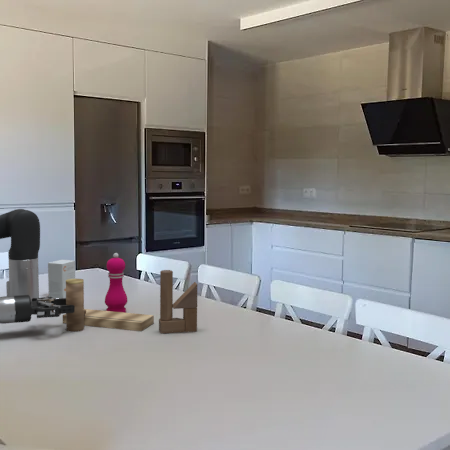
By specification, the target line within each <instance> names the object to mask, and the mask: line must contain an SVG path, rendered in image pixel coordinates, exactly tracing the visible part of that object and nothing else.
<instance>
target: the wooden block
mask: <svg viewBox="0 0 450 450" xmlns="http://www.w3.org/2000/svg"><path fill="white" fill-rule="evenodd" d="M159 275H160V276H159V277H160V280H159V281H160V284H159V285H160V287H159V290H160V291H159V293H160V296H159V297H160V299H159V303H160V305H159V308H160V310H159V313H160V314H159V315H160V316H159V319H158V331H159V333H160V334H175V333H176V334H177V333H193V332H194V333H195V332H198V283H197V282H196V281H194V282H193V283H191V285H190V286H189V287H188V288H187V289H186V290H185V291H184V292H183V293H182V294H181V295H180V296H179V297H178V298H177V299H176V300H175V302H174V301H173V297H174V296H173V294H174V293H173V290H174V289H173V288H174V287H173V286H174V284H173V283H174V279H173V278H174V272H173V270H171V269H162V270H161V271H160V274H159ZM176 309H177V310H178V309H182V312H183V313H182V318H181V317H180V318H179V317H173V313H174V312H173V310H176Z"/></svg>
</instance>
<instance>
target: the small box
mask: <svg viewBox="0 0 450 450" xmlns="http://www.w3.org/2000/svg"><path fill="white" fill-rule="evenodd" d="M47 278H48V279H47V280H48V283H47V284H48V285H47V286H48V297H52V298H59V299H60V298H66V280H68V279H76V260H72V259H57V260H55V261H54V260H53V261H50V262H47Z"/></svg>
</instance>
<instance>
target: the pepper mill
mask: <svg viewBox="0 0 450 450" xmlns="http://www.w3.org/2000/svg"><path fill="white" fill-rule="evenodd" d="M106 270H107V271H108V273H107V275H108V278H109V286H108V290H107V292H106V295H105V298H104V304H105V306H106V307H107V308H106V310H105V311H113V312H124V313H127V307H125V306H126V305H127V304H128V296H127V293H126V291H125V289H124V285H123V278H124V277H125V275H124V274H125V272H124V270H126V261H124V259H123V258H120V257H119V253H118V252H115V253H113V254H112V257H111V258H110V259H108V260H107V262H106Z"/></svg>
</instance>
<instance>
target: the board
mask: <svg viewBox="0 0 450 450" xmlns="http://www.w3.org/2000/svg"><path fill="white" fill-rule="evenodd" d="M84 310H86V314H85V316H84V327H85V326H89V327H94V328H95V327H98V328H108V329H116V330H127V331H134V332H135V331H136V332H142V331H144V330H146V329H147V328H148V327H150V326H152V325H153V324H154V323H155V321H154V320H155V317H154V316H155V315H154V314H145V313H144V314H143V313H135V312H134V313H133V312H126V313H124V312H113V311H106V310H102V309H101V310H100V309H88V308H84ZM65 323H66V313H64V314H63V315H62V324H65Z"/></svg>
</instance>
